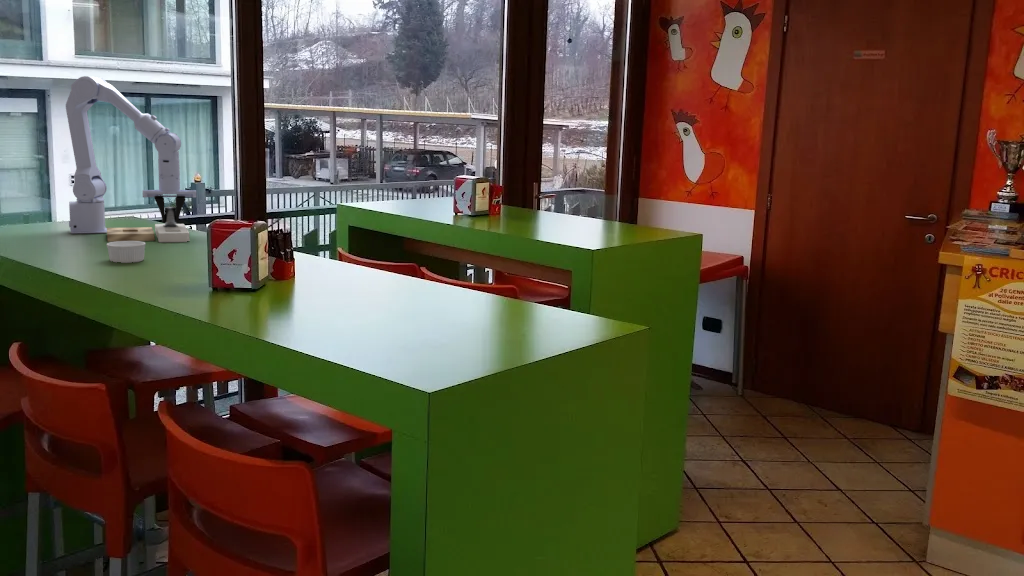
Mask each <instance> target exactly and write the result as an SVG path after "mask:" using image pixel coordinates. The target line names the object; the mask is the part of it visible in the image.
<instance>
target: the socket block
mask: <svg viewBox="0 0 1024 576" xmlns="http://www.w3.org/2000/svg"><path fill="white" fill-rule="evenodd" d="M106 228H107V233H106V235H107V242H116V241H141V242H150V241H151V242H154V241H156V240H155V230H154V229H153V227H151V226H150V227H147V226H146V227H141V226H140V227H136V226H135V227H106Z"/></svg>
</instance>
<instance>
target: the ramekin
mask: <svg viewBox="0 0 1024 576" xmlns="http://www.w3.org/2000/svg"><path fill="white" fill-rule="evenodd" d="M106 248H107V253H108V258H109V261H110V262H112V261H113V263H117V262H121V263H120V264H129V263H130V264H131V263H132V262H133V263H139V262H142V261H144V259H145V250H146V241H109V242H107V243H106Z"/></svg>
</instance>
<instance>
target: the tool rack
mask: <svg viewBox="0 0 1024 576" xmlns="http://www.w3.org/2000/svg"><path fill="white" fill-rule="evenodd" d="M154 234H156V235H155V236H156V238H157V241H158V242H159V243H188V242H187V241H190V232H189V230H188V228H187V227H186V225H185V224H184V223H176V227H165V223H155V224H154Z"/></svg>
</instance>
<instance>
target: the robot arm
mask: <svg viewBox="0 0 1024 576" xmlns="http://www.w3.org/2000/svg"><path fill="white" fill-rule="evenodd" d="M70 87H71V88H70V89H71V90H70V93H69V95H68V97H67V101H66V102H65V112H66V116H67V122H68V128H69V129H68V130H69V133H70V134H69V135H70V139H71V144H72V150H73V151H72V152H73V155H74V156H73V157H74V161H75V167H76V169H75V172H74V175H73V179H74V183H73V186H72V193H73V195H74V197H75V198H76V201H69V205H68V208H69V220H68V227H69V228H70V234H107V228H108V227H106V211H105V199H104V197H103V196H104V195H105V194H106V192H107V189H108V188H107V184H106V182H105V180H104V179H103V177H102V172H101V171H100V169H99V168H98V166H97V163H96V157H95V150H94V145H93V138H92V133H91V128H90V123H89V117H88V111H89V110H90V108H92V106H94V104H95V103H97V102H99V101H100V102H104V103H109V104H111V105H112V106H113V107H115V108H116V109H117V110H119V112H120V113H122V114H124V115H125V116H126V117H127V118H129V119H130V120H131V121H133V124H134V129H135V130H136V131H137V132H139V133H140V134H141V135H142V136H144V137H145V138H146V139H147V140H148V141H149V142H151V143H152V144H154V147H155V150H156V151H157V154H158V157H157V159H158V160H157V165H158V189H142V191H141V192H142V198H153V199H154V201H155V202H156V206H157V207H158V210H159V212H160V216H161V222H162V224H165V198H175V199H174V200H175V207H176V223H179V221H180V215H181V211H182V209H183V207H184V204H185V201H186V198H193V199H194V198H197V190H196V189H193V190H191V189H181V185H180V184H181V177H180V175H181V174H180V173H181V172H180V169H181V168H180V152H179V150H180V149H181V147H182V141H181V139H180V137H179V136H178V134H177V133H175V132H170V131H171V129H170V128H169V127H165V126H164V125H163V124H162V123H160V122H159V121H158V120H157V119H158V117H157V116H156V115H154V114H152V115H151V114H150V113H142V112H141V111H140V110H139V109H138V108H137V107H136V106H135V105H134V104H132V102H131V101H129V100H128V99H127V97H125V96H124V95H123V94H122V93H121V92H120V91H119V90H117V88H115V87H114V85H112V84H110V83H109V82H107V81H106V80H105V79H104V78H103V77H100V76H87V75H84V76H80V77H78V78H77V79H76V80H75V81H74V82H73V83H72V84H71V85H70Z"/></svg>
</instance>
